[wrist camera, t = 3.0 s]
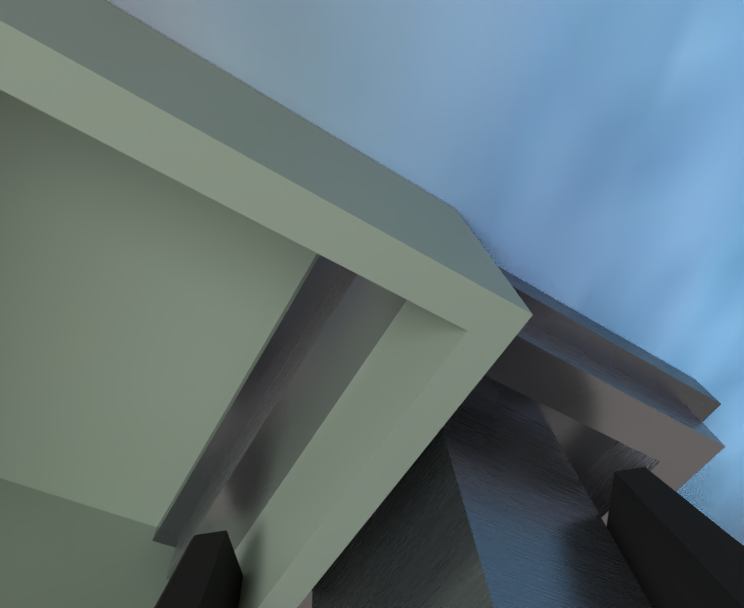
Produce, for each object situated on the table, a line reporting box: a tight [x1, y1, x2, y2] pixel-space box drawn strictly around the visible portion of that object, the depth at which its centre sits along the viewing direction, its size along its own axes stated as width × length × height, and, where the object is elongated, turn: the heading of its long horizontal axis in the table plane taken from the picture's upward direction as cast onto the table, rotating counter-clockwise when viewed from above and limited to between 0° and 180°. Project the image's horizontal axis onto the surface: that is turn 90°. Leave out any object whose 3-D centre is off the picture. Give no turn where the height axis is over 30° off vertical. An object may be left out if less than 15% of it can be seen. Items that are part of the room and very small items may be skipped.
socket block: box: [152, 253, 725, 608], centre depth 13 cm, size 10×10×2 cm
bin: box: [0, 0, 533, 608], centre depth 9 cm, size 11×11×5 cm
